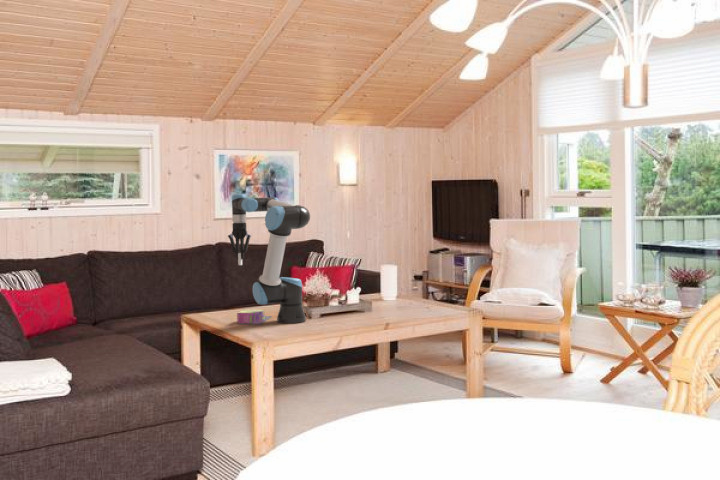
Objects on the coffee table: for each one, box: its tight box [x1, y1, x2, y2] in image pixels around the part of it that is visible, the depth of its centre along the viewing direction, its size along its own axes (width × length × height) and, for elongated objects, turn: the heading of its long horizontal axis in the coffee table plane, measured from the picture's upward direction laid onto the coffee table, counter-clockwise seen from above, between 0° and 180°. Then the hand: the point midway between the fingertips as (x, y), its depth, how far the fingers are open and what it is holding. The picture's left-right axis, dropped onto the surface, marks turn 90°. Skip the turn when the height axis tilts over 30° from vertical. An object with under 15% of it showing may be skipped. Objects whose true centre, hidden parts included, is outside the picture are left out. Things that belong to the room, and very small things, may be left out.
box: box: [236, 309, 266, 324], centre depth 386 cm, size 10×6×12 cm
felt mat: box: [238, 315, 273, 325], centre depth 393 cm, size 11×24×1 cm, turn 171°
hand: (240, 264), depth 406 cm, fingers closed
